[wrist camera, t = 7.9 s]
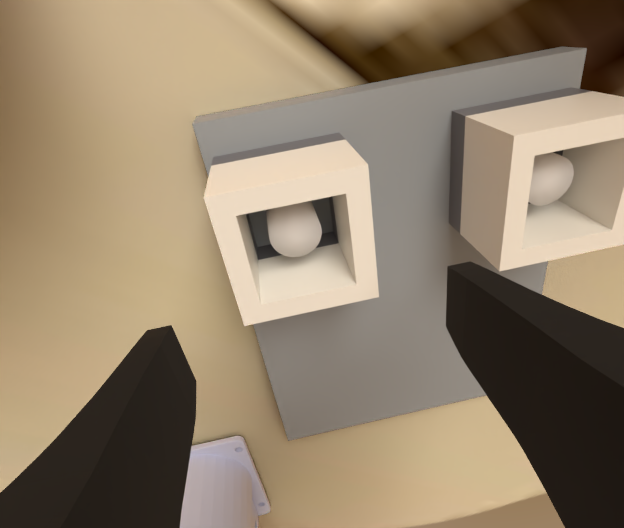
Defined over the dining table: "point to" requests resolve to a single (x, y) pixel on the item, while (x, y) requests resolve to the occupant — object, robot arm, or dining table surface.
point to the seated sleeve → (518, 173)
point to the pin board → (386, 237)
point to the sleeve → (286, 191)
